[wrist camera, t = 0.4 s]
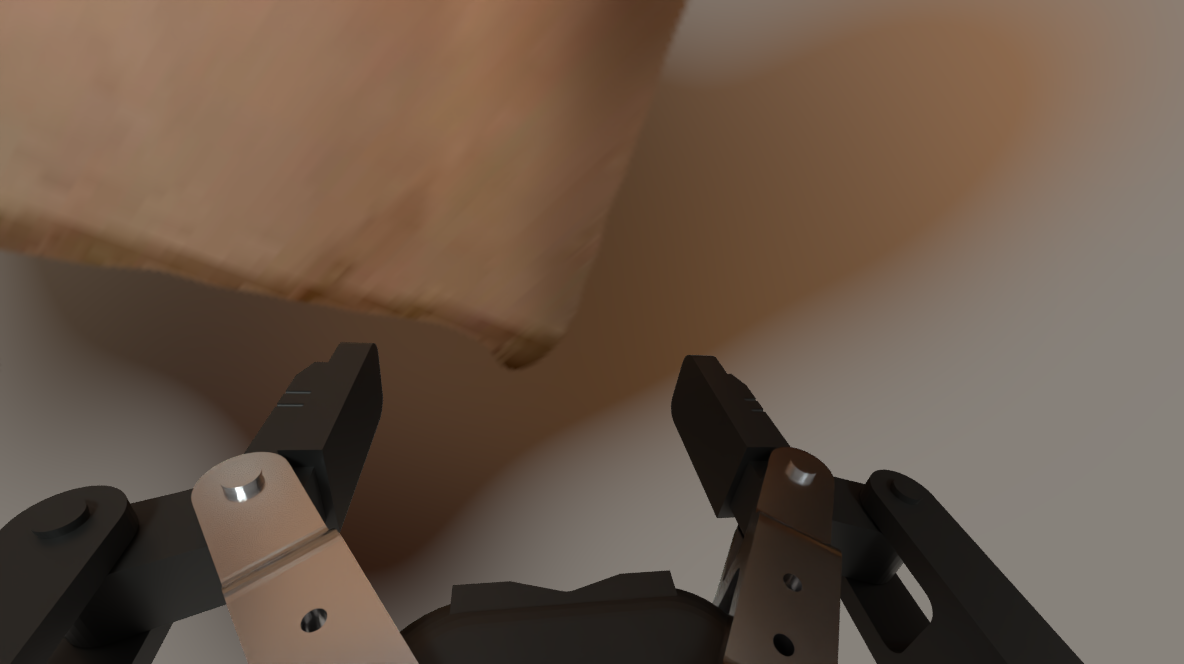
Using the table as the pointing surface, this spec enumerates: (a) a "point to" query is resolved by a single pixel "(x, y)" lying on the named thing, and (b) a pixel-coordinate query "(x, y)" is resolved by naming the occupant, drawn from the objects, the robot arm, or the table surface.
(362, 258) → the table surface
